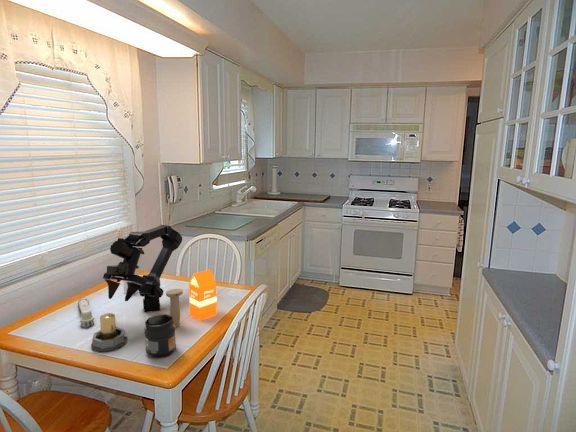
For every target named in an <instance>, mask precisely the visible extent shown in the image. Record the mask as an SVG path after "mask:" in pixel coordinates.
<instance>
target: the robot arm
mask: <svg viewBox="0 0 576 432" xmlns="http://www.w3.org/2000/svg"><path fill="white" fill-rule="evenodd" d="M158 238H161V245H162V247H161V250H160V251H159V253H158V256H157V258H156V259H155V261H154V264H153V266H152V268H151V269H150V271H149V273H148V274H147V275H146V274H144V275H142V276H141V275H139V274H138V275H134V273H135V270H136V269H137V270H138V269H139V268H140V266H138V263H139V261H140V257H141V255H145V252H144V250H143V248H144V247H146V246H147V245H149V244H150V242H151V241H153V240H155V239H158ZM182 242H183V237H182V235H181V233H179V232H178V231H177V230H175V229H173V228H172V227H171V225H168V224H161V225H158V226H155V227H152V228H150V229H147V230H145V231H132V232H130V233H129V234H128V235H126V237H125V238H122V237H118V238H117V240H116V241H114V242H112V244H111V245H110V248H109V249H110V250H109V252H110V253H111V254H113V255H114V256H117V257H119V258H121V259H122V258H124V259H123V262H122V261H119V263H118V264H116V265H107V266H106V272H104V274H103V277H102V279H104V282H106V284H107V286H108V288H107V289H108V291H107V292H108V294H107V296H108V299H109V300H111V299H113V297H114V295H115V293H116V292H117V291H118V288H119V286H120V285H121V283H120V282H121V281H122V282H123V281H131V282H127V285H128V289H127V293H126V294H125V297H124V301H125V302H128V301H130V299H131V298H132V297H133V296H134V295H135V294H134V293H135V292H136V291H137V290H138V293H139V296H140V297H144V298H143V299H142V303H143V305H142V307H143V310H144V312H145V313H148V312H157V311H161V303H160V298H162V296H163V295H164V289H163V288H161V276H162V274H163V272H164V270H165V268H166V266H167V264H168V262H169V260H170V257H171V255H172V254H173V252H175V251H176V250H177V249H179V247H180V245H181V244H182ZM127 278H128V279H127Z"/></svg>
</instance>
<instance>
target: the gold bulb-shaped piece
mask: <svg viewBox="0 0 576 432" xmlns="http://www.w3.org/2000/svg"><path fill="white" fill-rule="evenodd" d="M99 322H100V330H101V337H102V338H101V340H108V339H114V338H115V337H117V335H116V327H117V323H116V314H115V313H111V312H110V313H104V314H101V315H100V316H99Z"/></svg>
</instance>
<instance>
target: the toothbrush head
mask: <svg viewBox="0 0 576 432" xmlns="http://www.w3.org/2000/svg"><path fill="white" fill-rule="evenodd" d="M89 305H90V301H89V300H88V299H87V298H86V297H81V298H79V299H78V301H77V307H78V308H79V311H80V315H81V316H80V318H79V323H80V327H82V328H89V327H91V326H93V325H94V323H95V321H94V320H95V316H94V315H93V314H92V310H91V309H90V306H89Z"/></svg>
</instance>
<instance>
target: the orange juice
mask: <svg viewBox="0 0 576 432" xmlns="http://www.w3.org/2000/svg"><path fill="white" fill-rule="evenodd" d="M188 290H189V292H188V293H189V294H188V295H189V296H188V297H189V315H190V317H192V318H194V319H196V320H198V321H199V322H201V321H203V320H206V319H208V318H211V317H214V316H217V315H218V314H217V313H218V311H217V310H218V309H217V308H218V307H217V304H218V303H217V282H216V279H215V277H214V274H213V272H212V269H207V270H202V271H198V272H195V273H193V275H192V277H191V278H190V282H189V284H188Z"/></svg>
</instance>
